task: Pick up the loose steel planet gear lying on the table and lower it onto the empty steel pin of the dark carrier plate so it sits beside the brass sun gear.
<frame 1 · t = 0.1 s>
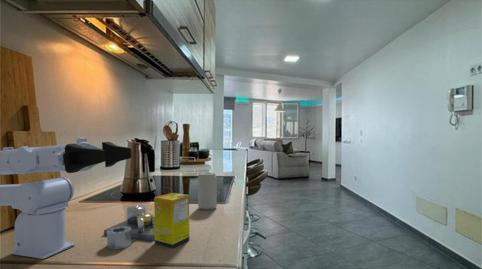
hand: (118, 154, 59), 22 cm above the worktop, tool horizontal, fingers open, 7 cm apart
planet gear: (119, 245, 67), on the worktop
beverage can: (207, 208, 100), on the worktop
carrier: (144, 228, 78), on the worktop
supplement box: (172, 242, 69), on the worktop
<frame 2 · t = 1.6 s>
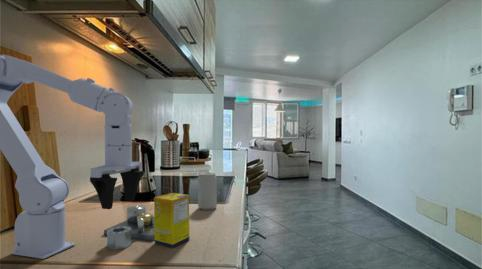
hand: (118, 204, 67), 9 cm above the worktop, tool pointing down, fingers open, 7 cm apart
nothing on the worktop moved.
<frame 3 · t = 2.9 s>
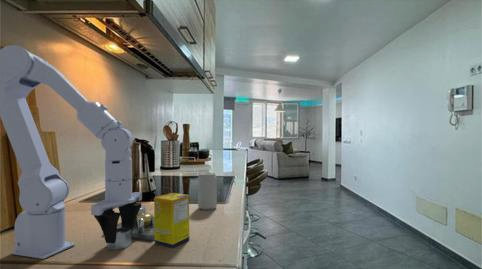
hand: (119, 238, 67), 2 cm above the worktop, tool pointing down, fingers closed on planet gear, 5 cm apart
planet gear: (119, 245, 67), on the worktop, touching gripper
everything else where it was.
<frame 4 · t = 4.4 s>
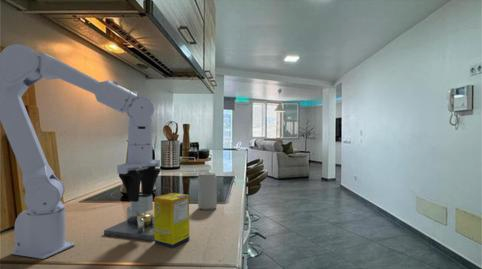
hand: (140, 198, 73), 9 cm above the worktop, tool pointing down, fingers closed on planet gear, 5 cm apart
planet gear: (141, 209, 73), point 7 cm above the worktop, touching gripper
everything else where it was.
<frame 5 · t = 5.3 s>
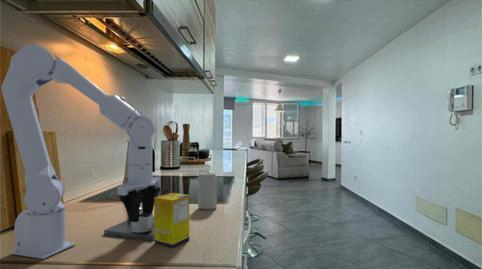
hand: (140, 218, 73), 4 cm above the worktop, tool pointing down, fingers closed on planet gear, 5 cm apart
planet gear: (141, 229, 73), point 2 cm above the worktop, touching gripper
everything else where it was.
when the fingers open (4 cm above the worktop, at t = 5.8 s): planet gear stays where it is, resting on carrier.
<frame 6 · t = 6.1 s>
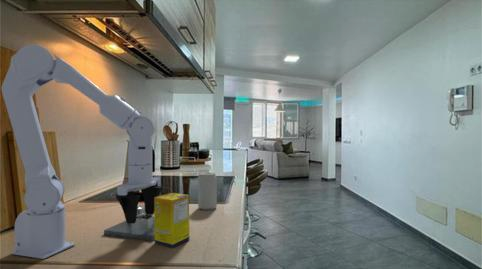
hand: (140, 218, 73), 4 cm above the worktop, tool pointing down, fingers open, 7 cm apart
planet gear: (141, 231, 73), point 1 cm above the worktop, touching carrier
everything else where it was.
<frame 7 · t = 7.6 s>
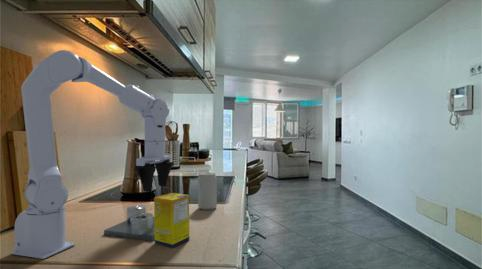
hand: (155, 188, 84), 10 cm above the worktop, tool pointing down, fingers open, 7 cm apart
nothing on the worktop moved.
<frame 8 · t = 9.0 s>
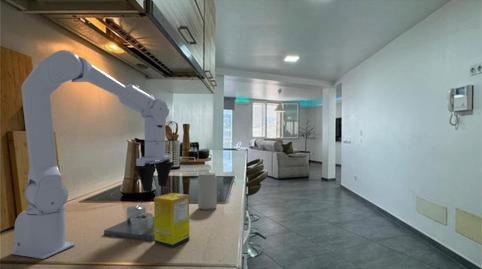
hand: (155, 188, 84), 10 cm above the worktop, tool pointing down, fingers open, 7 cm apart
nothing on the worktop moved.
at the end: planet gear 0.2 cm from the target spot on the carrier, point 1.2 cm above the carrier's base; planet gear tilted 0°; the gripper is holding nothing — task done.
